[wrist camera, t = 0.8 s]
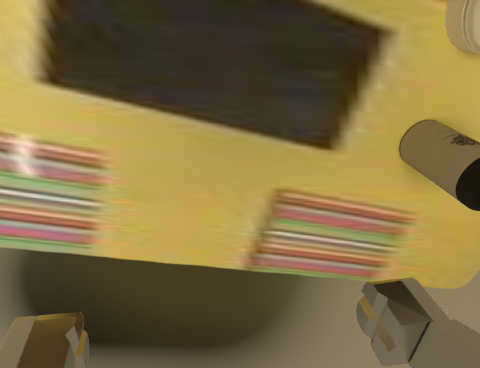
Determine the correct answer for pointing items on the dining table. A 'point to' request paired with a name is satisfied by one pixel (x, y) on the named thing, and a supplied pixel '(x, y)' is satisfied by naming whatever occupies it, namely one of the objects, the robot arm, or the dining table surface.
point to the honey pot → (463, 24)
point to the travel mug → (445, 160)
